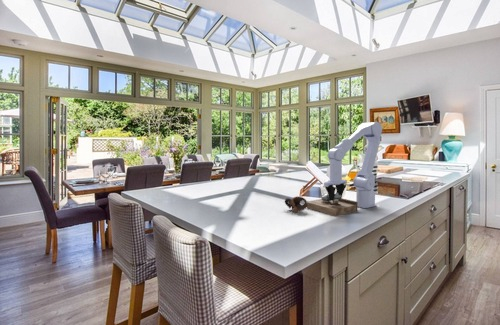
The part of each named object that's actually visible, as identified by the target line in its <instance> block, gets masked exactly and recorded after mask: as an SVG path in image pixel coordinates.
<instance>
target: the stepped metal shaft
mask: <svg viewBox="0 0 500 325" xmlns="http://www.w3.org/2000/svg"><path fill="white" fill-rule="evenodd" d="M339 199H341V194H339V193H338V192H337V191H335V193H334V200H333V205H335V206H337V205H339Z"/></svg>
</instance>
